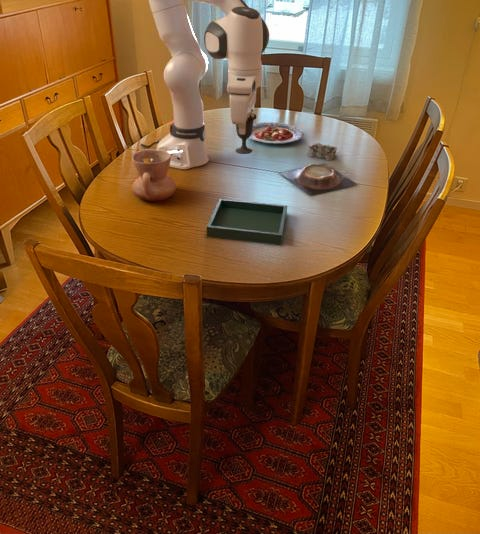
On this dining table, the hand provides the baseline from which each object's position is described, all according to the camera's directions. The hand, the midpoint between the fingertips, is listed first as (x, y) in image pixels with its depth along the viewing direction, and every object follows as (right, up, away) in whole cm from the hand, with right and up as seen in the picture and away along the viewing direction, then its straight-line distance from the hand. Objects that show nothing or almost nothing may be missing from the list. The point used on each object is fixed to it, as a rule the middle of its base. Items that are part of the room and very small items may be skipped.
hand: (244, 130), depth 128 cm
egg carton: (+32, +7, +58) cm, 67 cm away
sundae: (0, -5, +4) cm, 6 cm away
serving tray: (+1, -26, +12) cm, 28 cm away
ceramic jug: (-30, -15, +26) cm, 42 cm away
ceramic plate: (+14, +19, +73) cm, 77 cm away
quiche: (+28, -6, +40) cm, 49 cm away
